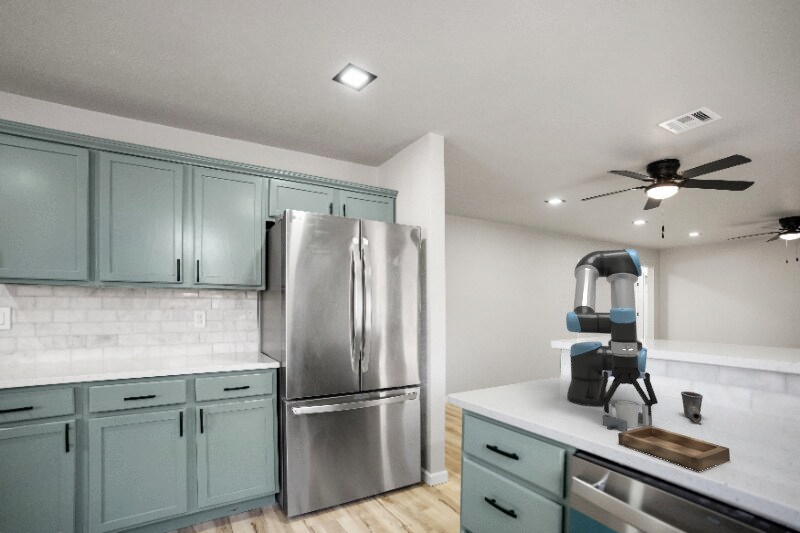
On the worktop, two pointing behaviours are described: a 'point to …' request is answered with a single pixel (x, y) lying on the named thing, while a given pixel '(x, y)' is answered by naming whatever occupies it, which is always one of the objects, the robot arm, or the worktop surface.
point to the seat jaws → (621, 422)
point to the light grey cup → (627, 412)
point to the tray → (675, 447)
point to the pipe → (692, 405)
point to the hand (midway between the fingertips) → (627, 424)
